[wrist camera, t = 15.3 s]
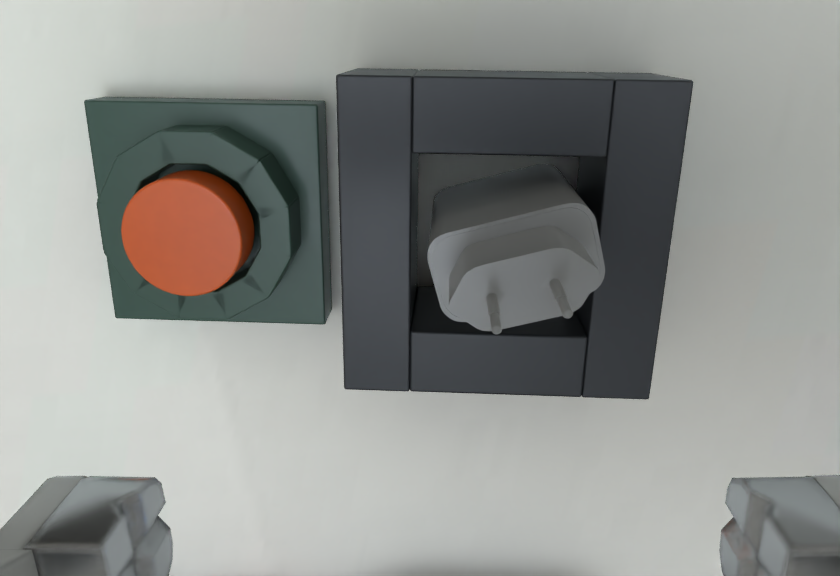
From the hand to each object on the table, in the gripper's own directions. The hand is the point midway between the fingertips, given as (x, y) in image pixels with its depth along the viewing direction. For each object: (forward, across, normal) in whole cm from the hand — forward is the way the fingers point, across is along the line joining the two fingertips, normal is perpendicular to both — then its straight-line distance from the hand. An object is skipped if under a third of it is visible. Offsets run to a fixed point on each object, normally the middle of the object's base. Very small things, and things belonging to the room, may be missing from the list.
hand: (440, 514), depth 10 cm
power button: (+17, +9, 0) cm, 19 cm away
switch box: (+20, +9, 0) cm, 22 cm away
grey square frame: (+20, -2, 0) cm, 20 cm away
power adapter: (+20, -2, 0) cm, 20 cm away
